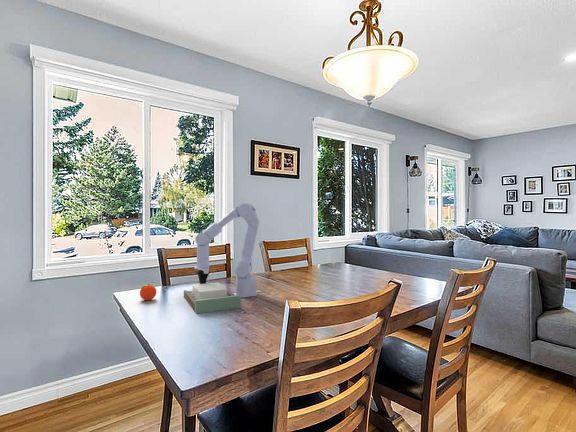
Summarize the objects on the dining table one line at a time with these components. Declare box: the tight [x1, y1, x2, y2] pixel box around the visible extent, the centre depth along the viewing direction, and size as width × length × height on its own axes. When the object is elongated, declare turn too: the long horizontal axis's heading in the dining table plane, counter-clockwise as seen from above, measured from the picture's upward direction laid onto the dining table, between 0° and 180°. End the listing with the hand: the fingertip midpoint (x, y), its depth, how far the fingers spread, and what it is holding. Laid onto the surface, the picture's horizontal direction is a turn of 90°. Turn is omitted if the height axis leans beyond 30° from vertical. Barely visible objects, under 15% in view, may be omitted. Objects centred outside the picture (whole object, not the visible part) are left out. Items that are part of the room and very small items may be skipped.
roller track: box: [183, 289, 234, 313], centre depth 147 cm, size 18×24×3 cm
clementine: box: [138, 284, 157, 301], centre depth 147 cm, size 8×7×7 cm
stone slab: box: [192, 282, 228, 299], centre depth 148 cm, size 12×14×3 cm
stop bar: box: [194, 294, 241, 314], centre depth 135 cm, size 18×2×5 cm, turn 118°
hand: (202, 285), depth 159 cm, fingers closed
